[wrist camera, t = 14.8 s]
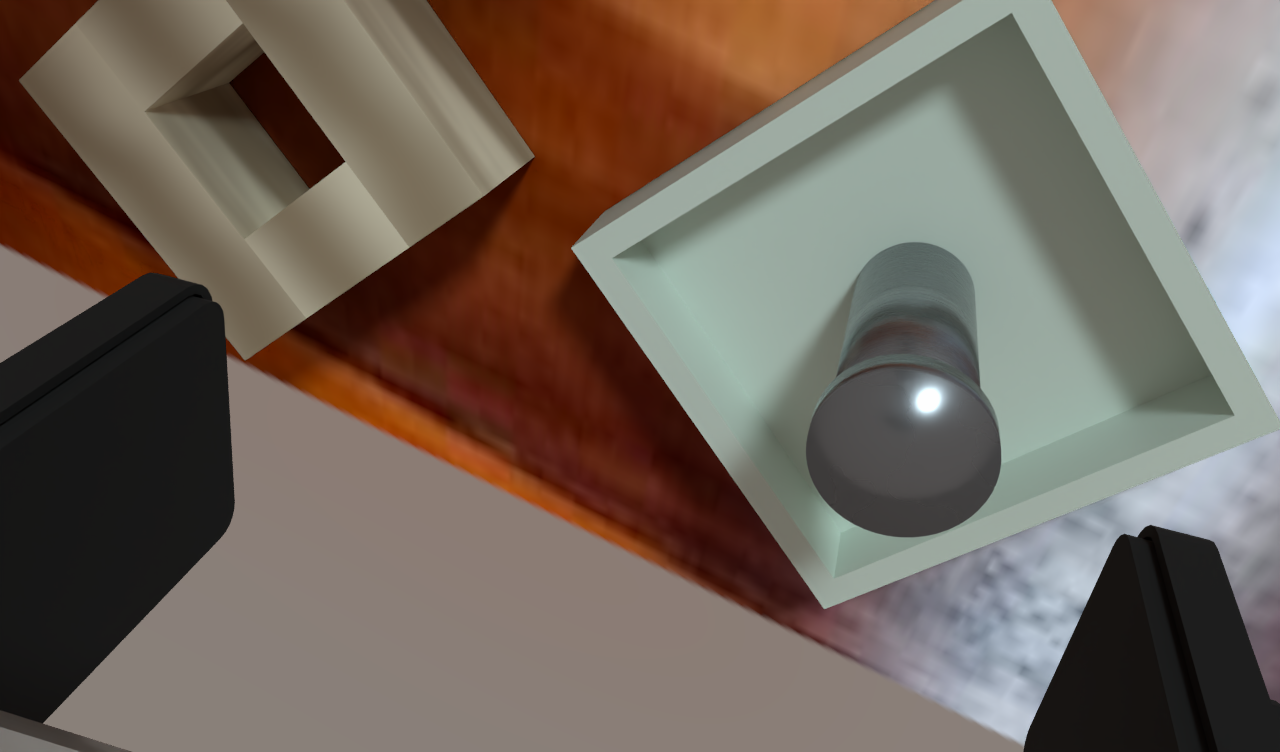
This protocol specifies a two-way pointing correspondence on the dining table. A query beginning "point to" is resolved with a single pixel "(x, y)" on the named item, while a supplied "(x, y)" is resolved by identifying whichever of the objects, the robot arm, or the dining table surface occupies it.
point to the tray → (966, 227)
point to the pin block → (249, 159)
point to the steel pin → (907, 401)
